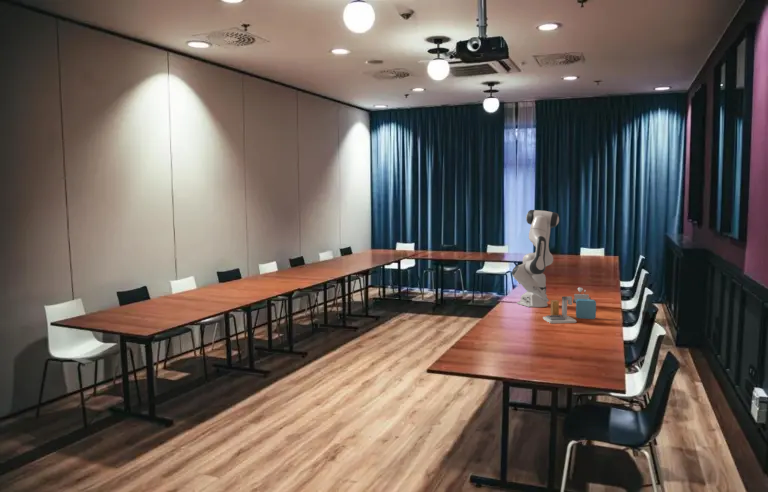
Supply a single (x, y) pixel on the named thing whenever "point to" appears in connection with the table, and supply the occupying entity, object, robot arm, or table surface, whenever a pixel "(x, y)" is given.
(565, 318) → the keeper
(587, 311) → the data package
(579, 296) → the toy car
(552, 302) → the wooden square pillar
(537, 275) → the robot arm
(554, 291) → the table surface
